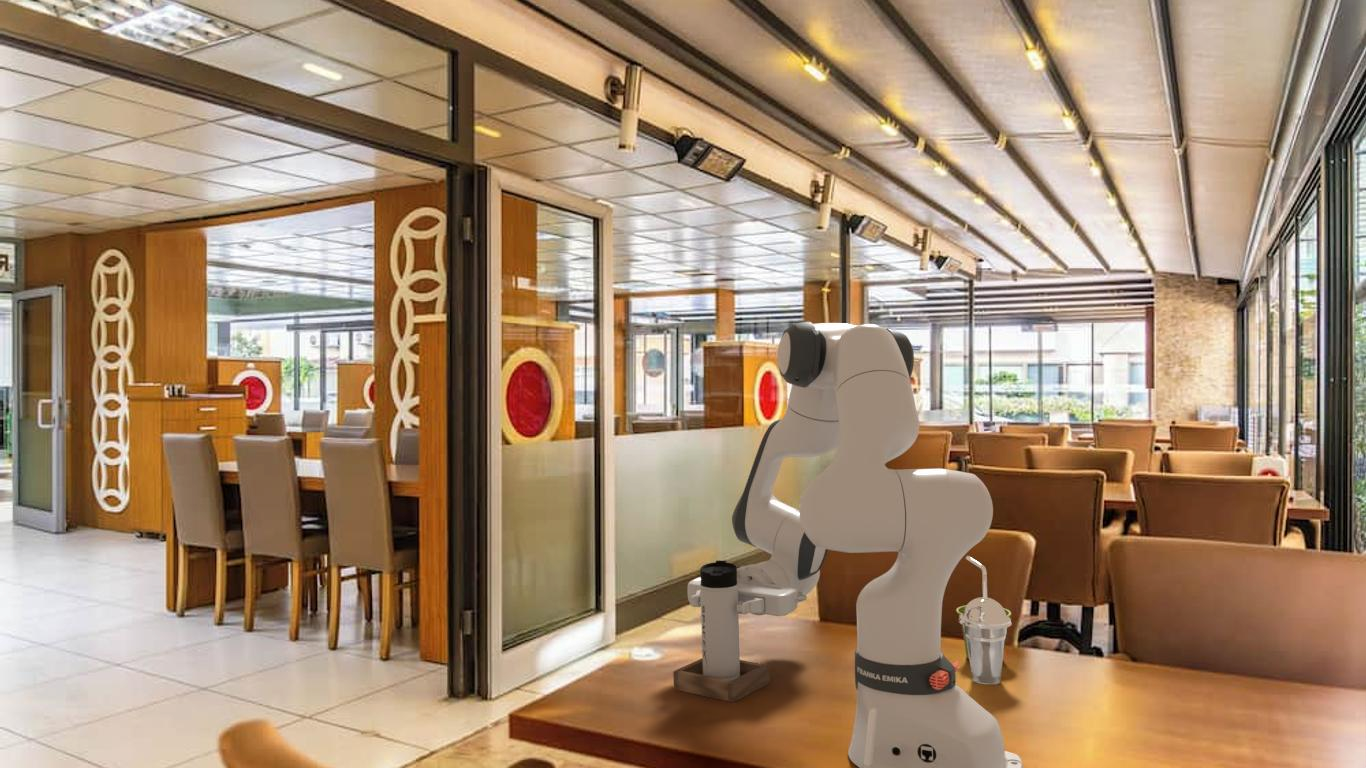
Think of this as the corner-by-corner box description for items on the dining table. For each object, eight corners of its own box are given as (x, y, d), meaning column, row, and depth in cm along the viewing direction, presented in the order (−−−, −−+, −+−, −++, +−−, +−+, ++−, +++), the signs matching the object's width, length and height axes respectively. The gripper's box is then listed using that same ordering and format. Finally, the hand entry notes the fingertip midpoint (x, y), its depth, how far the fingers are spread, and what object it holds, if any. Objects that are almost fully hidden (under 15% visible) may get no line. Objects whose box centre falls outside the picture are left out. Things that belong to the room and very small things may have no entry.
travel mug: (742, 676, 160) (739, 560, 160) (737, 689, 153) (734, 568, 153) (706, 675, 161) (703, 560, 161) (700, 688, 154) (696, 568, 154)
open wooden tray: (769, 683, 158) (768, 665, 158) (733, 702, 149) (732, 683, 149) (711, 671, 165) (710, 654, 165) (673, 689, 156) (673, 671, 156)
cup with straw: (961, 687, 153) (958, 565, 153) (958, 670, 162) (955, 555, 162) (1015, 690, 151) (1012, 567, 151) (1010, 672, 160) (1007, 556, 160)
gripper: (811, 613, 161) (770, 633, 150) (714, 599, 173) (669, 616, 162) (810, 577, 161) (769, 594, 150) (713, 565, 173) (668, 580, 162)
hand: (716, 605), depth 156 cm, fingers open, 8 cm apart
